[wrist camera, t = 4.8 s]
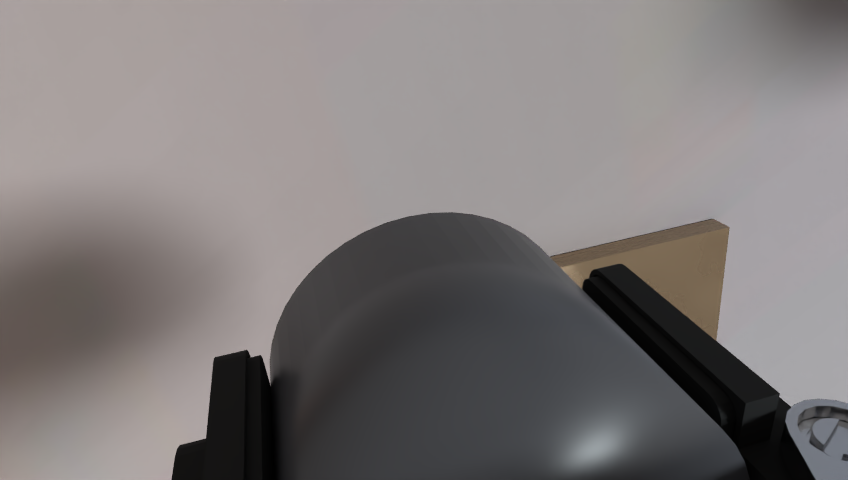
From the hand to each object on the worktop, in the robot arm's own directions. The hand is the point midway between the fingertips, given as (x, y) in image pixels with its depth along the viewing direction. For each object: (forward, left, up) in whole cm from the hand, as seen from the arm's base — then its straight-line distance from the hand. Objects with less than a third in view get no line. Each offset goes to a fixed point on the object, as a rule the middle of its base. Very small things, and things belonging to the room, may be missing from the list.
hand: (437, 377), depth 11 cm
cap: (0, 0, -1) cm, 1 cm away
